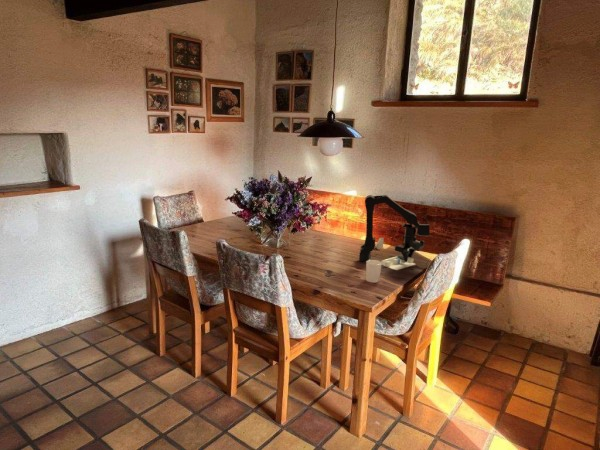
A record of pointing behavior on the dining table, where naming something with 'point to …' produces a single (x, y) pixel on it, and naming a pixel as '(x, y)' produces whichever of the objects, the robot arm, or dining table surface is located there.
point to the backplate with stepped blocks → (396, 263)
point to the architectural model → (380, 243)
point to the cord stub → (409, 260)
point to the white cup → (373, 270)
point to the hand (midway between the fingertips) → (407, 261)
